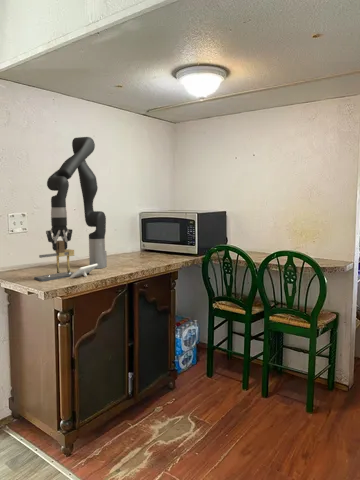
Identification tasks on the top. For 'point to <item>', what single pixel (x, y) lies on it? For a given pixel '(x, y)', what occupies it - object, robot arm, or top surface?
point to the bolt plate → (53, 276)
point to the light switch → (83, 271)
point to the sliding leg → (60, 252)
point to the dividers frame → (67, 253)
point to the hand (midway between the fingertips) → (60, 249)
